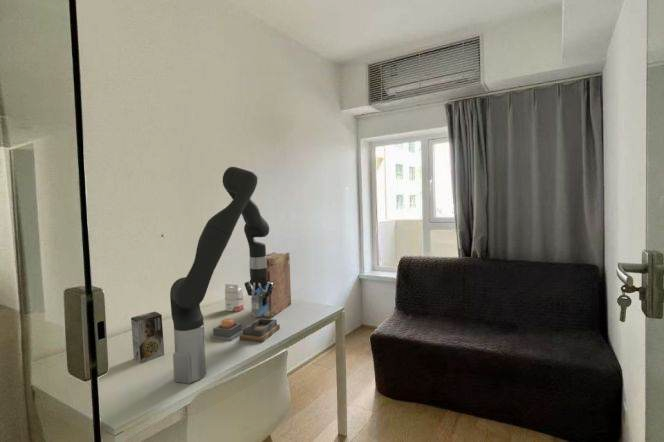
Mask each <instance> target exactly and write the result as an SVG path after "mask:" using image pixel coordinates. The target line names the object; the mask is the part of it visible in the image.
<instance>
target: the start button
mask: <svg viewBox="0 0 664 442" xmlns="http://www.w3.org/2000/svg"><path fill="white" fill-rule="evenodd" d="M220 322H221V325H222V328H227V329H230V328H232V327H233V326H234V323H235V322H234V318H231V317H230V318H223V319H222V320H221V321H220Z"/></svg>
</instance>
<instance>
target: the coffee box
mask: <svg viewBox="0 0 664 442" xmlns="http://www.w3.org/2000/svg"><path fill="white" fill-rule="evenodd" d="M162 316H163V315H162V314H161V313H159V312H157V311H152V312H148V313H144V314H140V315H136V316H132V317H131V318H130V321H131V336H132V352H133V360H135V361H137V362H138V363H140V364H141V363H144V362H147V361H150V360H152V359H156V358H158V357H161V356H163V355H165V344H164V331H163V330H164V327H163V317H162Z"/></svg>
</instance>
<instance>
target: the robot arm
mask: <svg viewBox="0 0 664 442" xmlns="http://www.w3.org/2000/svg"><path fill="white" fill-rule="evenodd" d="M222 185H223V187H224V189H225V191H226V192H227V193H228V195H229V196H230V197H231V199H232V200H231V202H230V203H228V205H227V206H226V207H225V208H223V209H221V210H220V211H219V212H217V213H216V214H214V215H213V216H212V217H210V218H209V219H208V220H207V222H206V224H205V226H204V227H203V229H202V232H201V233H200V236H199V239H198V242H197V246H196V249H195V250H196V252H195V256H194V259H193V263H192V265H191V267H190V269H189V272H188V273H187V275H186V276H185V277H180V278H178V279H176V280H175V281H174V282H173V284H172V286H171V288H170V291H169V297H170V298H169V299H170V311H171V319H172V322H173V336H174V337H173V338H174V352H173V353H172V362H173V363H172V364H173V381H174V382H175V383H181V384H182V383H183V384H189V385H190V384H192V383H194V382H196V381H197V382H198V381H200V380H201V379H203V378H205V376H206V374H207V369H206V368H207V366H206V347H205V328H204V326H205V325H204V323H205V322H204V315H203V314H202V310H201V307H200V306H201V305H200V304H201V303H202V302H203V300H204V298H205V296H206V294H207V291H208V287H209V285H210V282H211V279H212V276H213V274H214V272H215V270H216V267H217V266H218V263H219V261H220V260H221V257H222V255H223V253H224V251H225V249H226V247H227V246H228V243H229V242H230V240H231V237H232V234H233V232H234V230H235V227H236V226H237V224H238V221H239V219H240V217H241V216H242V219H243V221H244V223H245V224H244V227H243V230H244V234H245V237H246V241H247V245H248V248H249V249H248V250H249V260H248V263H249V265H248V267H249V277H250V279H249V281H246V282H244V287H245V289H246V293H247V296H250V297H253V296H255V295H257V291H258V288H260V287H261V291H262V296H263V306H266V305H267V303H268V302H267V297H268V296H270V295H271V293H272V290H273V286H274V283H273V282H272V283H271V282H268V279H267V259H266V255H267V247H266V243H264V242H260V241H257V240H256V239H255V238H265V237H267V236H268V235H269V232H270V226H269V224H268V221H267V220H266V219H265V218H264V217H263V216H262V215H261V213H260V209H259V207H258V205H257V204H256V202H255V201H254V200H253V199H252V196H253V194H254V193H255V190H256V188H257V185H258V175H257V174H256V173H255V172H254V171H250V170H249V169H248V170H247V169H243V168H241V167H237V166H229V167H228V168H226V170H225V171H224V172H223V175H222ZM266 285H268V290H267V288H266ZM263 289H264V290H263Z"/></svg>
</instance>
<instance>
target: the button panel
mask: <svg viewBox="0 0 664 442" xmlns="http://www.w3.org/2000/svg"><path fill="white" fill-rule="evenodd" d="M212 333H213V334H210V335H209V339H212V340H213V339H214V340H224V341H233V340H235V339H236V338H238V337H240V335H241V334H242V333H243V323H241V322H234V326H233V327H232V328H230V329H227V328H222V325H221V324H218V325H217V326H215V327H213V328H212Z"/></svg>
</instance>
